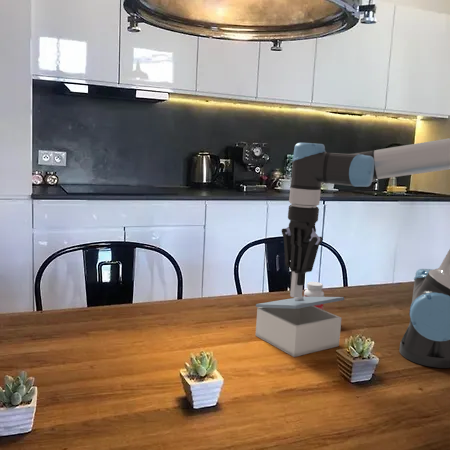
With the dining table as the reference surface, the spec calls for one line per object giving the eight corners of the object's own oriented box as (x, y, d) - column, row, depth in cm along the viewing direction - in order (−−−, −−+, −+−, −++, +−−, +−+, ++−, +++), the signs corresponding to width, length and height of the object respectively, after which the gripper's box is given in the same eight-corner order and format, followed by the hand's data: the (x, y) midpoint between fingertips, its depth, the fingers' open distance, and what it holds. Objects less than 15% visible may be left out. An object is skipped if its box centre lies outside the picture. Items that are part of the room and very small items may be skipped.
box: (338, 346, 143) (341, 317, 142) (293, 357, 134) (296, 326, 133) (298, 326, 156) (301, 300, 155) (255, 335, 147) (257, 307, 146)
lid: (344, 300, 141) (343, 292, 141) (296, 308, 132) (295, 300, 132) (302, 299, 155) (301, 292, 155) (256, 307, 145) (255, 299, 145)
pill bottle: (324, 321, 162) (328, 286, 160) (305, 321, 161) (308, 286, 159) (318, 314, 168) (321, 281, 166) (299, 314, 167) (302, 280, 165)
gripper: (333, 208, 130) (324, 301, 133) (297, 201, 140) (290, 287, 144) (311, 209, 125) (302, 305, 129) (275, 201, 136) (268, 290, 140)
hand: (295, 296), depth 137 cm, fingers closed
